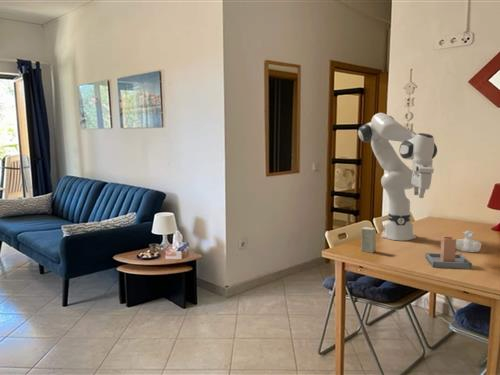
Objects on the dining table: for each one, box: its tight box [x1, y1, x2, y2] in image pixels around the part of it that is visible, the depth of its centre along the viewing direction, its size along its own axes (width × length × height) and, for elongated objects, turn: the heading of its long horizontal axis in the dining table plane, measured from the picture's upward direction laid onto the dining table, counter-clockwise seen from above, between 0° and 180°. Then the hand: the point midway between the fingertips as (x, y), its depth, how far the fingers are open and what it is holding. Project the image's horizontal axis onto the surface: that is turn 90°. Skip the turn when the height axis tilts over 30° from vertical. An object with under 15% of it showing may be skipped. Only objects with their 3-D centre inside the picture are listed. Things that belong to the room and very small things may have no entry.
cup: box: [440, 235, 457, 262], centre depth 185 cm, size 5×5×11 cm
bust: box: [456, 230, 482, 253], centre depth 205 cm, size 12×8×11 cm
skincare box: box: [360, 226, 377, 254], centre depth 206 cm, size 6×4×12 cm
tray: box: [424, 252, 473, 270], centre depth 186 cm, size 14×16×2 cm
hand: (418, 196), depth 193 cm, fingers open, 8 cm apart
